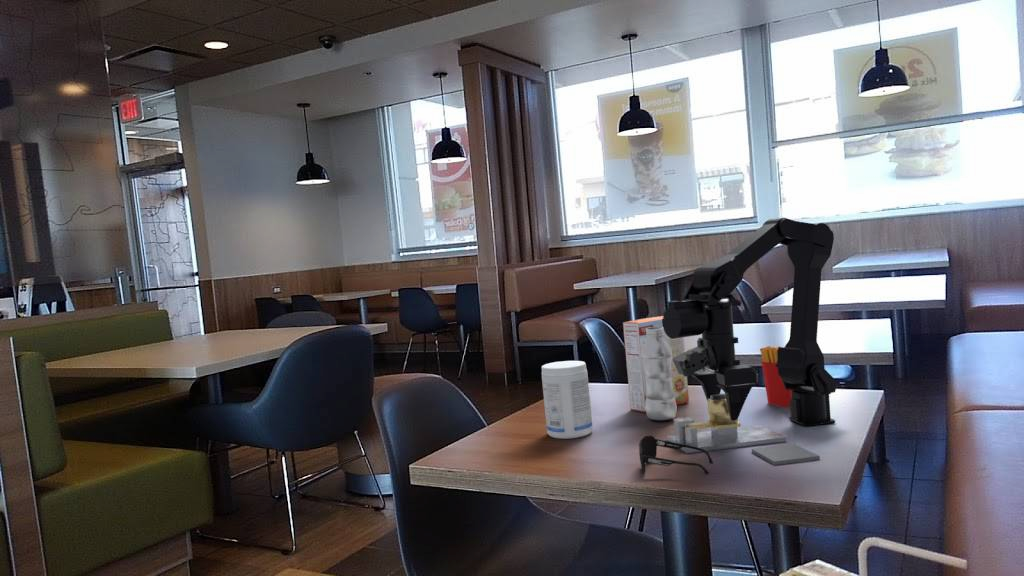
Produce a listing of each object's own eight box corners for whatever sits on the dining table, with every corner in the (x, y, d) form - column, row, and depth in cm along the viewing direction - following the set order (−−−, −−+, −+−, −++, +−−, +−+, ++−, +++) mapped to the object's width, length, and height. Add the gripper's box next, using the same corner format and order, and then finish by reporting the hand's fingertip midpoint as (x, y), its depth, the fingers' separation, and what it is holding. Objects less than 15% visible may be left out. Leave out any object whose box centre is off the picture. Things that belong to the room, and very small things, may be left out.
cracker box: (671, 399, 173) (665, 314, 172) (690, 402, 168) (683, 315, 167) (628, 409, 166) (621, 321, 165) (646, 413, 161) (639, 321, 160)
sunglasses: (645, 457, 127) (647, 430, 127) (714, 468, 123) (716, 440, 122) (631, 476, 117) (633, 446, 117) (705, 488, 113) (707, 458, 112)
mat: (794, 447, 125) (794, 444, 125) (819, 459, 118) (819, 455, 117) (751, 452, 124) (751, 449, 124) (774, 465, 117) (774, 461, 116)
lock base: (760, 429, 139) (758, 404, 139) (785, 441, 129) (784, 415, 129) (667, 439, 137) (665, 414, 137) (686, 453, 127) (684, 426, 127)
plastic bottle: (678, 422, 150) (671, 328, 149) (645, 423, 151) (638, 330, 150) (677, 415, 156) (670, 325, 155) (646, 416, 157) (639, 327, 157)
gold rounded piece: (730, 420, 136) (728, 390, 136) (743, 426, 131) (740, 395, 131) (680, 426, 135) (678, 396, 135) (690, 432, 130) (688, 401, 129)
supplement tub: (589, 426, 153) (584, 358, 152) (596, 437, 143) (590, 365, 143) (544, 430, 152) (539, 362, 152) (548, 441, 143) (542, 369, 142)
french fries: (807, 404, 157) (803, 346, 156) (797, 408, 154) (793, 348, 154) (769, 400, 164) (766, 344, 163) (759, 403, 161) (755, 346, 161)
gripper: (659, 332, 141) (665, 409, 141) (695, 341, 122) (701, 431, 123) (712, 326, 142) (718, 403, 143) (756, 335, 124) (762, 424, 124)
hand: (723, 415), depth 133 cm, fingers open, 9 cm apart
